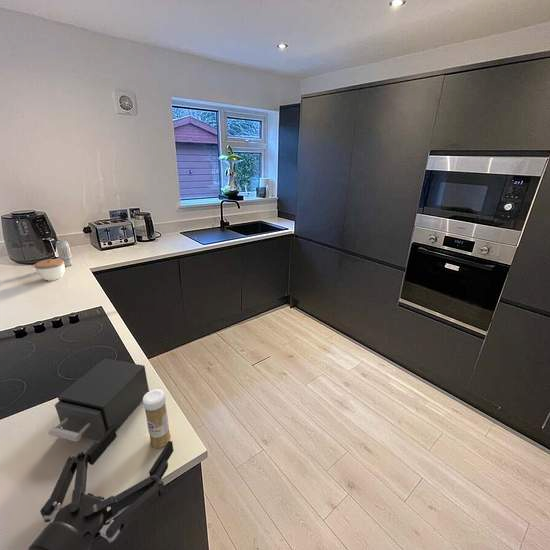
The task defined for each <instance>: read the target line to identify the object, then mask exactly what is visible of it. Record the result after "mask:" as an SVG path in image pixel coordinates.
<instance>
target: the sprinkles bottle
mask: <svg viewBox="0 0 550 550" xmlns="http://www.w3.org/2000/svg"><path fill="white" fill-rule="evenodd" d="M142 405H143V408H144V411H145V417H146V423H147V430H148V435H149V440H150V446H152V448H155V449H161V448H163V447H165V446H166V444H167V443H168V441H171V439H172V438H171V435H172V434H171V432H170V424H169V418H168V410H167V406H166V394H165V392H164V391H163V390H162V389H158V388H157V389H151V390H149V392H148V393H146V394H145V395H144V397H143V401H142Z"/></svg>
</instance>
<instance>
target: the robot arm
mask: <svg viewBox="0 0 550 550" xmlns="http://www.w3.org/2000/svg"><path fill="white" fill-rule="evenodd" d="M117 437H118V435H117V431H116V430H115V427H111V428H110V429H109V430H108V431H107V432H106V433H105V435H104V436H103V437H102V438H101V439H98V441H94V443H92V444H91V445H90V447H89V448H88V449H87V450H86V451H85V452H84V451H81V452H79V453H78V454H77V455H76V456H75V455H70V456H68V457H67V459H66V460H65V461H66V462H65V464H64V465H63V467H62V470H61V472H60V475H59V477H58V480H57V482H56V484H55V486H54V488H53V490H52V492H51V495H50V496H49V499H47V501H46V502H45V503H44V504H43V506H42V507H41V508H40V514H41V517H42V519H43V521H44V523H48V524H47V525H46V526H45V527H44V528H43V530H42V531H41V532H40V533H39V535H38V536H37V537H36V538H35V539H34V541H33V542H32V543H31V544H30V545H29V547H28V548H27V550H91V547H92V545H93V543H94V542H95V541H96V540H97V539H98V538H99V537H102V538H104V539H105V540H107V542H108V544H109V545H110V546H111V545H114V544H115V543H116V542H117V541H118V539H119V538H120V537H121V536H122V534H123V533H124V531H125V530H126V529H127V528H128V527H129V526H130V525H132V524H133V523H134V522H135V521H136V520H137V519H139V517H141V516H142V515H143V514H144V513H145V512H146V511H147V510H148V509H149V508H151V507H152V506H153V505H154V504H155V503H156V502H157V501H158V500H160V499H161V498H162V497H163V496H164V495H165V493H166V489H165V483H164V481H163V480H162V478H163V477H164V475H165V473H166V472H167V471H168V468H169V462H168V461H169V459H170V457H172V455H173V453H174V444H173V440H170V441H168V443H167V444H166V445H165V446H164V448H163V449H162V451H161V452H160V453H159V455H158V457H157V458H156V460H155V462H154V463H153V464H152V467H150V469H149V471H148V474H149V476H148V477H146V478H145V479H142V480H141V481H139V482H137V483H136V484H134V485H132V486H130V487H128V488H127V489H125V490H123V491H122V492H120V493H118V494H116V495H111V496H109V497H107V498H106V499H105V497H104V496H102V495H101V496H100V495H97V496H96V495H94V493H91V492H88V493H86V491H87V480H88V469H89V468H88V467H89V465H91V466H94V465H95V463H96V462H97V461H98V460H99V459H100V457H101V456H102V455H103V454H104V453H105V451H106V450H107V449H108V448H109V447H110V446H111V445H112V443H113V442H114V441H115V439H116V438H117ZM74 476H75V478H74ZM73 478H74V486H73V489H72V495H71V502H70V503H68V504H66V505H65V506H63V507H62V505H63V504H64V501H65V498H66V495H67V493H68V491H69V489H70V486H71V483H72V480H73ZM108 508H109V509H108ZM121 511H122V512H121ZM119 512H120V513H119ZM114 517H115V519H112V518H114ZM110 519H111V520H110ZM109 520H110V521H109ZM108 521H109V523H107V522H108Z"/></svg>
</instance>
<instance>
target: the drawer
mask: <svg viewBox="0 0 550 550" xmlns="http://www.w3.org/2000/svg"><path fill="white" fill-rule="evenodd" d="M54 407H55V410H56V414H57V416H58V419H59V423H58V424H57V425H56V426H52V427H51V428H50V429H49V430H48V435H50V436H53V437H56V438H61V439H65V440H69V441H72V442H79V441H80V440H81V439H82V436H86V437H91V438H94V439H98V440H100V439H101V438H102V437H103V436H104V435H105V433H106V429H105V428H106V425H105V421H104V418H103V414H102V410H101V409H99V408H95V407H91V406H86V405H82V404H78V403H73V402H69V401H68V403H65V402H60V401H59V400H58V402H56V403H55V404H54Z"/></svg>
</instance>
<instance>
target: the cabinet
mask: <svg viewBox="0 0 550 550" xmlns="http://www.w3.org/2000/svg"><path fill="white" fill-rule="evenodd" d="M149 391H150V389H149V383H148V379H147V372H146V366H145V365H143V364H138V363H133V362H129V361H128V362H127V361H123V360H117V359H111V358H106V357H104V358H103V359H102V360H101V361H99V362H98V363H97V364H95V365H94V366H93V367H92V368H90V369H89V370H88V371H87V372H86V373H85V374H83V375H82V376H81V377H80V378H78V379H77V380H76V381H75V382H74V383H72V384H70V386H69V387H67V388H66V389H65V390H63V391H62V392H61V393H60V394H58V396H57V399H58V402H59V401H60V402H65V403H68V401H69V402H73V403H78V404H82V405H86V406H91V407H95V408H99V409H101V410H102V414H103V418H104V421H105V425H106V428H105V429H106V432H107V431H108V430H109V429H110V428H111V427H115V430H116V432H118V431H119V429H120V428H121V427H122V425H124V423H126V421H127V420H128V419H129V417H130V416H131V415H132V414H133V413H134V412H135V410H136V409H137V408H138V407H139V406H140V405H141V403H143V397H144V395H145V394H146V393H148V392H149Z"/></svg>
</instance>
